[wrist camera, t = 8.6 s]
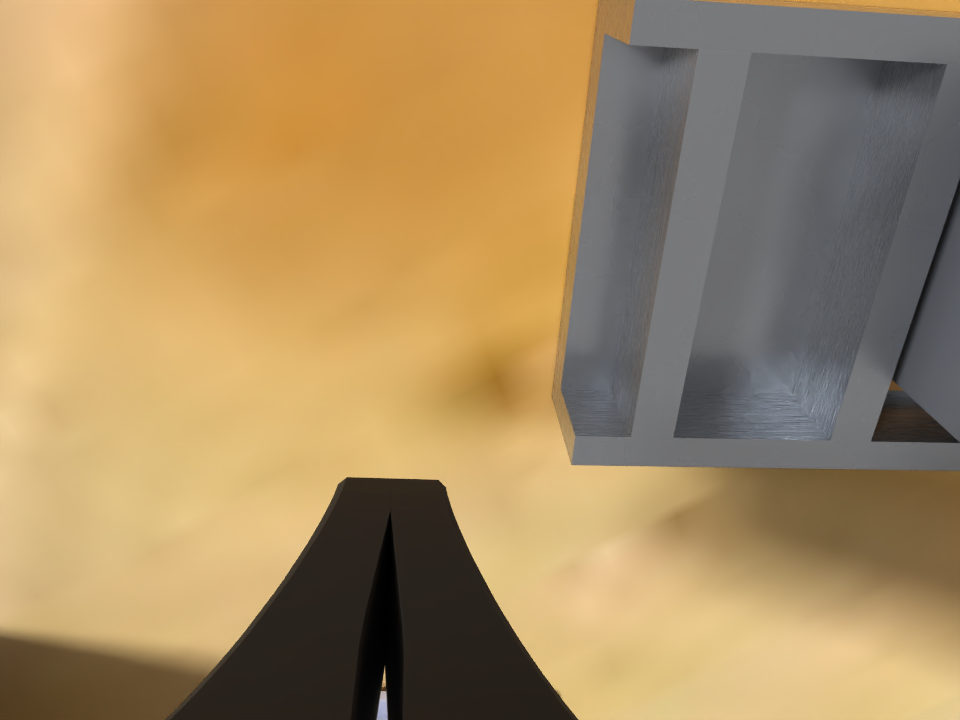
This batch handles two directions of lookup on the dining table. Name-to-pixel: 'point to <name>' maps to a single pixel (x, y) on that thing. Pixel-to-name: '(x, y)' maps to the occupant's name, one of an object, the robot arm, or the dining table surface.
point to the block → (937, 333)
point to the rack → (756, 234)
